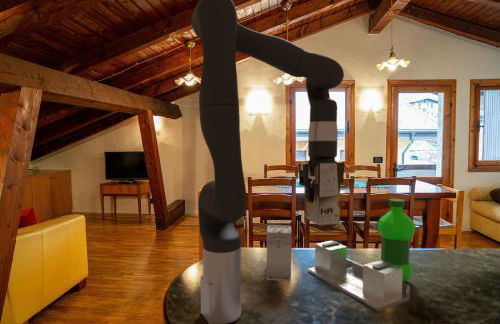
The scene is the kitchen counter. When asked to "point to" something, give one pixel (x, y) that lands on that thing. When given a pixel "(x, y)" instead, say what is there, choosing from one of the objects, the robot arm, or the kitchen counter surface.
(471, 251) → the kitchen counter surface
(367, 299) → the plate
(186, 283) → the kitchen counter surface
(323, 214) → the coffee box
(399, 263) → the plastic bottle
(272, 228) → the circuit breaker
